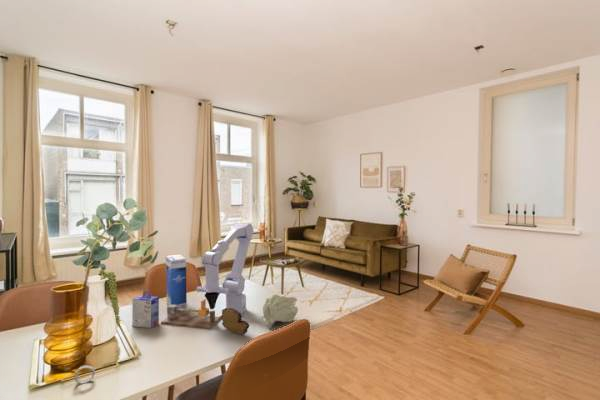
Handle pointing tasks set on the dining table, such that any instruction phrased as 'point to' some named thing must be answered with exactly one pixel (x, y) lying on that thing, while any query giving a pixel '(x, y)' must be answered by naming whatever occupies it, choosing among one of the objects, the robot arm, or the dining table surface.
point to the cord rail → (189, 318)
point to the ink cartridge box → (145, 311)
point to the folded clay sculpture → (279, 309)
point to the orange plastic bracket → (203, 309)
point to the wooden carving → (234, 321)
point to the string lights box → (176, 281)
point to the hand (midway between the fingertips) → (212, 308)
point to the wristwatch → (85, 380)
